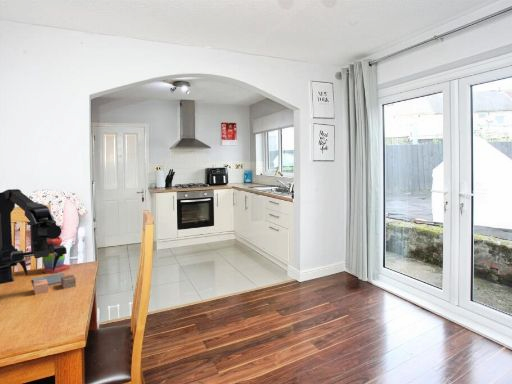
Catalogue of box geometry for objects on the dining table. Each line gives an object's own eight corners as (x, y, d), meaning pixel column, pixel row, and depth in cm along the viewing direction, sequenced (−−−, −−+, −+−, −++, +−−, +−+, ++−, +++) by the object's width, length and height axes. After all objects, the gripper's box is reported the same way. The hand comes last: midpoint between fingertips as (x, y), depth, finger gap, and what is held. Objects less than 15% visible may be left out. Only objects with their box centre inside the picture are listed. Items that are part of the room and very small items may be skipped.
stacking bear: (71, 267, 163) (70, 233, 162) (57, 274, 153) (56, 238, 152) (52, 266, 164) (51, 233, 163) (37, 273, 154) (35, 237, 153)
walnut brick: (61, 285, 139) (60, 276, 139) (72, 282, 142) (72, 274, 142) (63, 289, 135) (63, 280, 135) (75, 286, 138) (75, 277, 138)
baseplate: (33, 280, 145) (33, 278, 145) (63, 274, 152) (63, 273, 152) (36, 287, 136) (36, 286, 136) (68, 281, 143) (68, 279, 143)
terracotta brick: (33, 290, 133) (33, 281, 133) (46, 288, 136) (46, 279, 136) (35, 295, 128) (34, 285, 128) (48, 292, 131) (48, 283, 131)
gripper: (11, 243, 118) (13, 283, 119) (68, 236, 130) (69, 273, 132) (9, 237, 127) (11, 275, 128) (63, 232, 139) (64, 266, 140)
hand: (40, 273), depth 132 cm, fingers open, 9 cm apart
